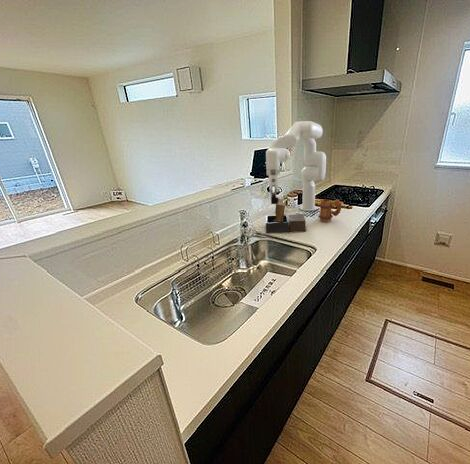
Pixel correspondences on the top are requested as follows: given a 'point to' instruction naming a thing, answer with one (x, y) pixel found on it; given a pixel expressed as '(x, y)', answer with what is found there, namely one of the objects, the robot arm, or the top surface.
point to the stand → (296, 223)
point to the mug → (329, 209)
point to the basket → (277, 225)
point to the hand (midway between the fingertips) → (273, 201)
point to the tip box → (280, 210)
